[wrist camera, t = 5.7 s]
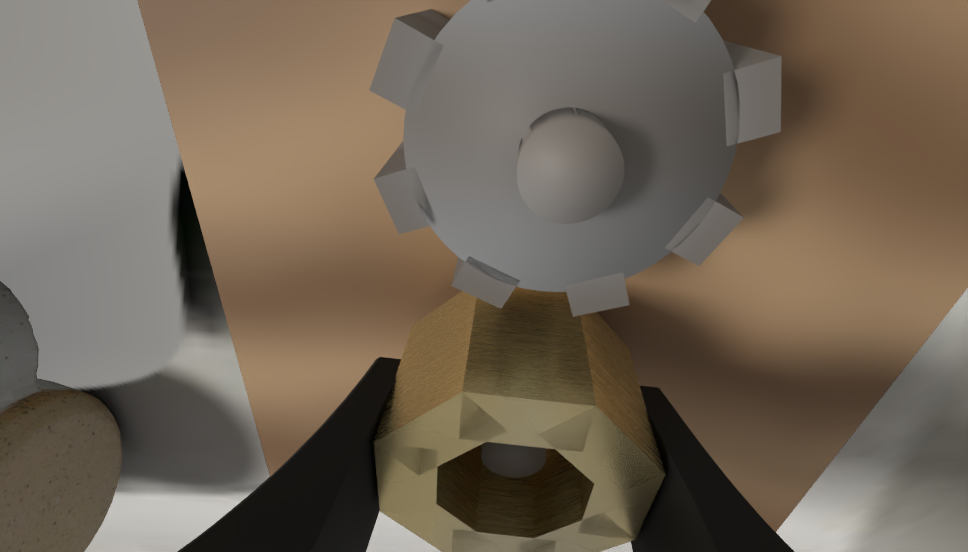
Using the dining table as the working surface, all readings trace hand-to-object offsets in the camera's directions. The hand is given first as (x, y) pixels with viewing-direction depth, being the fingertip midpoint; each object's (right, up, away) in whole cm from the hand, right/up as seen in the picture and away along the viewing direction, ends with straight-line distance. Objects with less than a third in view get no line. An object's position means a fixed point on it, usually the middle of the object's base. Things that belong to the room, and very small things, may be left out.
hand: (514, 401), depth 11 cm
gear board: (+1, +2, +2) cm, 3 cm away
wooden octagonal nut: (0, +1, +1) cm, 1 cm away
